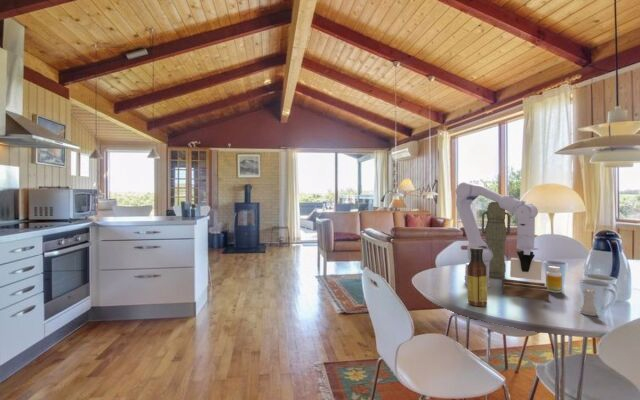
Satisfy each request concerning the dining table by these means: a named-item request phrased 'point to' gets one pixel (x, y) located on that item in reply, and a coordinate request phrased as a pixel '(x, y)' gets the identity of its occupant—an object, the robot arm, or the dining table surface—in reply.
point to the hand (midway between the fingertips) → (524, 270)
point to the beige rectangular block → (532, 274)
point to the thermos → (496, 238)
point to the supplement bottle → (554, 279)
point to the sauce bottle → (477, 279)
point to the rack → (525, 289)
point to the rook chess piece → (588, 303)
